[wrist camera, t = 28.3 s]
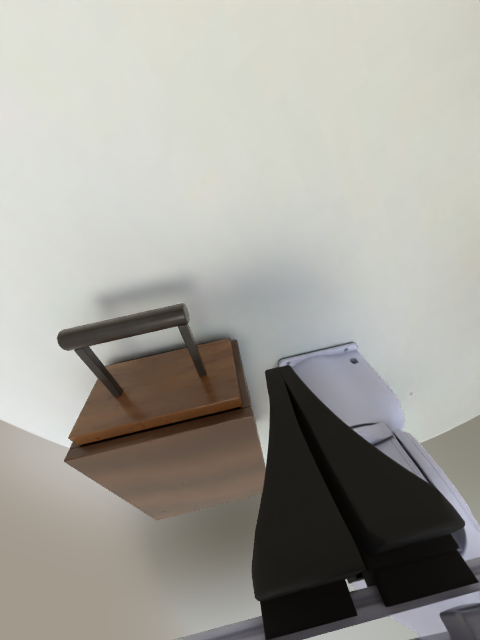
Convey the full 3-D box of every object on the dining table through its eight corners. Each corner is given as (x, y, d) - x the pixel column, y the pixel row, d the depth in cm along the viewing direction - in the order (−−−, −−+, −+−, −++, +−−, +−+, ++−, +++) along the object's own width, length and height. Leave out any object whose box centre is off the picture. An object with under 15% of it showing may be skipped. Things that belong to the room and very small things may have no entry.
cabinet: (107, 369, 22) (62, 461, 15) (236, 339, 22) (253, 415, 15) (166, 443, 31) (156, 520, 24) (255, 421, 32) (271, 491, 25)
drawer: (57, 308, 16) (-16, 376, 11) (213, 274, 17) (220, 323, 11) (163, 441, 29) (155, 503, 24) (250, 420, 30) (262, 476, 24)
